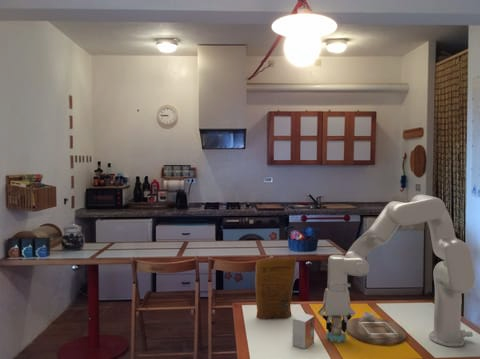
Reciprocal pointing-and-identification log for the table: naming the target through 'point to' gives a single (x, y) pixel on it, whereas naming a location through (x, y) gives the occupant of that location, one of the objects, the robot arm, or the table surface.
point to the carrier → (375, 330)
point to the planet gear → (336, 330)
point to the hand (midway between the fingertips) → (336, 330)
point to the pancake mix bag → (274, 287)
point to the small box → (303, 330)
